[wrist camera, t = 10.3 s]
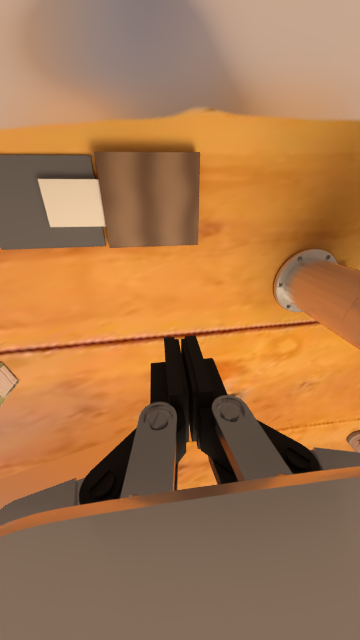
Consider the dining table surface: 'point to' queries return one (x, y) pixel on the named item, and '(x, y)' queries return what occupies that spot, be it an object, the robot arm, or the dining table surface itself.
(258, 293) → the dining table surface
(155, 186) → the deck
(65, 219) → the tile
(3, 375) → the syrup box
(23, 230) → the mat
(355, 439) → the travel mug
